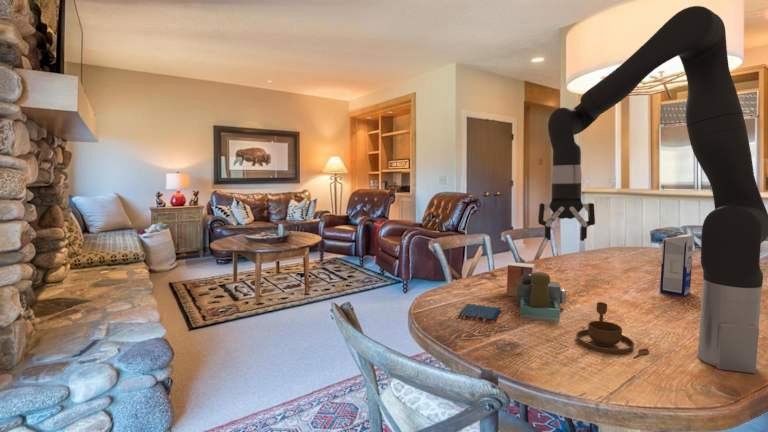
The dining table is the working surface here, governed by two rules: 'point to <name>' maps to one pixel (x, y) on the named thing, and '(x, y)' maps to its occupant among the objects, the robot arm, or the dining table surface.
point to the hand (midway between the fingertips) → (565, 240)
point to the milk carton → (676, 264)
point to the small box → (517, 275)
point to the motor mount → (539, 313)
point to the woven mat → (480, 313)
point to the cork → (540, 290)
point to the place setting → (606, 335)
